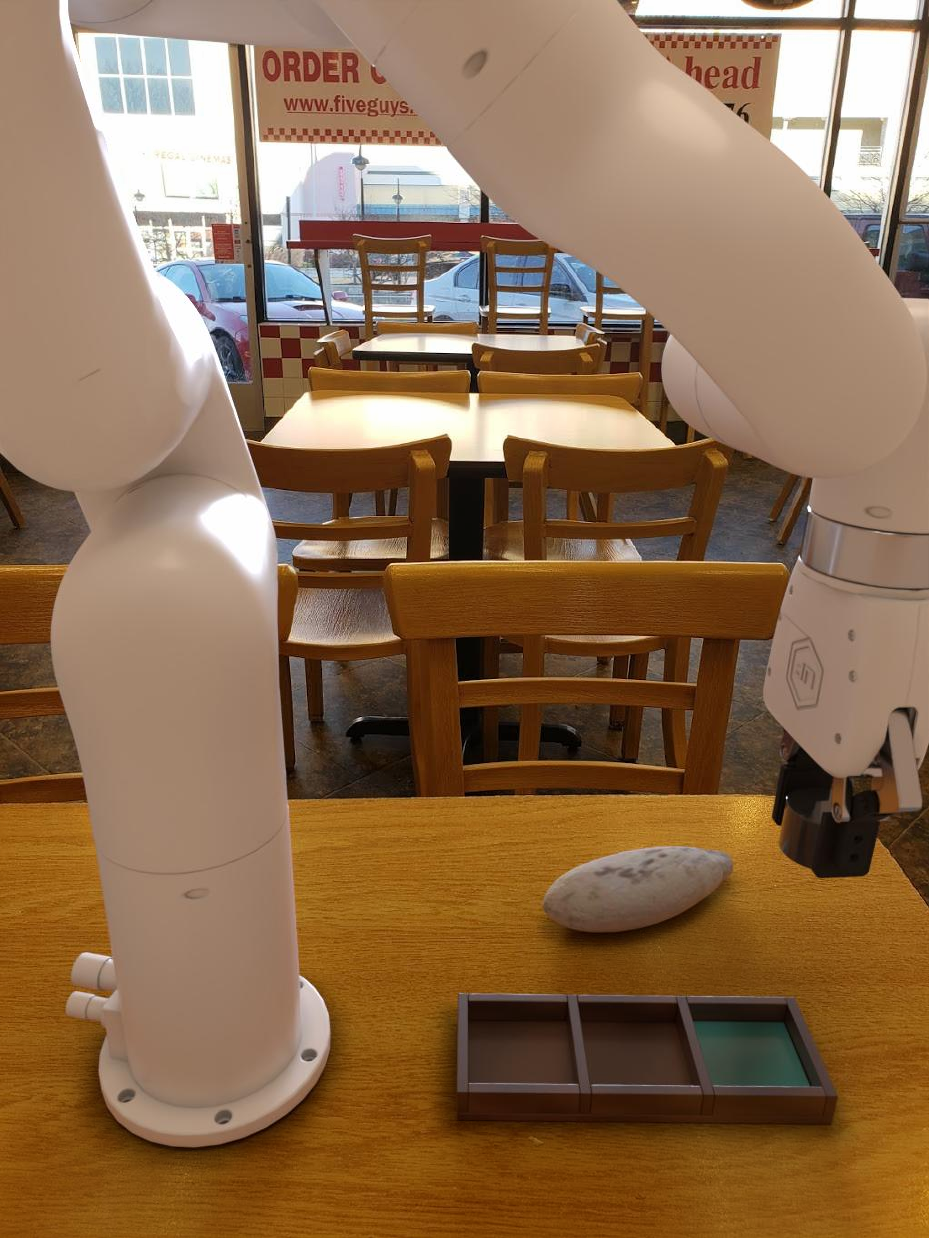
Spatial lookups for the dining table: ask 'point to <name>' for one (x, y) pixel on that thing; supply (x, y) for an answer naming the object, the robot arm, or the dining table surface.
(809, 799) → the dark gray cylinder
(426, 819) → the dining table surface
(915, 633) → the robot arm
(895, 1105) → the dining table surface
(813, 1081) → the divided tray
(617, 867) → the decorative stone
